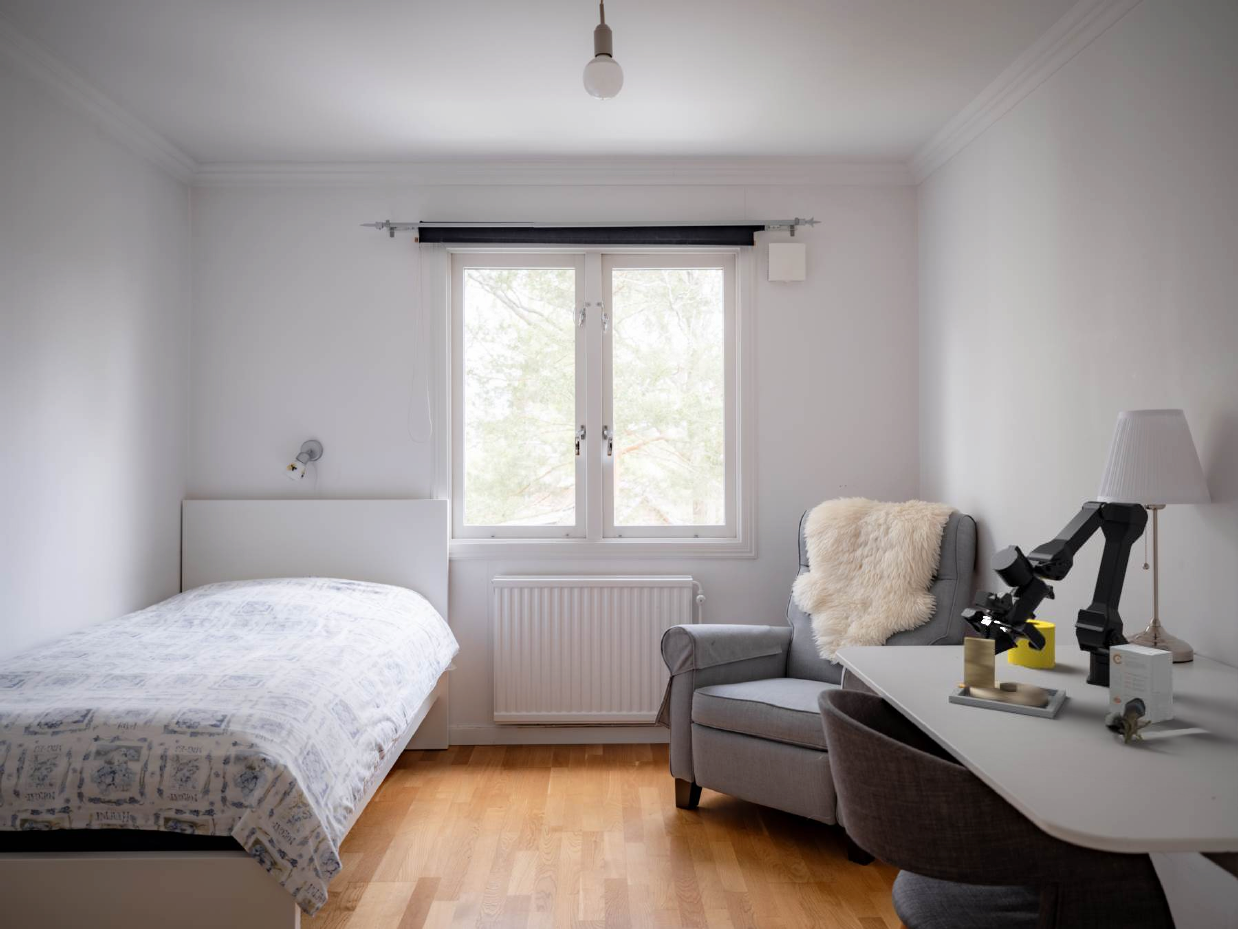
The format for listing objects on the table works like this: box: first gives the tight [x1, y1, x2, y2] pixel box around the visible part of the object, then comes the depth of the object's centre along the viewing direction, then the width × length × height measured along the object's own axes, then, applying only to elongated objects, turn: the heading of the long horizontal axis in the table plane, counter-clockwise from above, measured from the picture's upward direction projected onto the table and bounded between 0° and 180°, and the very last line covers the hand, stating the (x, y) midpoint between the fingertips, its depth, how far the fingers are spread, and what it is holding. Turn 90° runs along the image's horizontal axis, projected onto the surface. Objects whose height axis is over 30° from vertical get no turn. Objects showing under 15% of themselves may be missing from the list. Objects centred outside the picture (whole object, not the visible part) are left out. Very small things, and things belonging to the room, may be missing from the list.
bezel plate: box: [948, 679, 1067, 720], centre depth 166 cm, size 18×18×2 cm
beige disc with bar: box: [963, 636, 1048, 708], centre depth 166 cm, size 15×14×11 cm
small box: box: [1109, 643, 1174, 724], centre depth 156 cm, size 8×6×13 cm
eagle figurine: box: [1105, 698, 1152, 744], centre depth 146 cm, size 8×7×9 cm
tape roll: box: [1007, 619, 1056, 669], centre depth 199 cm, size 10×10×9 cm
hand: (977, 660), depth 170 cm, fingers closed
